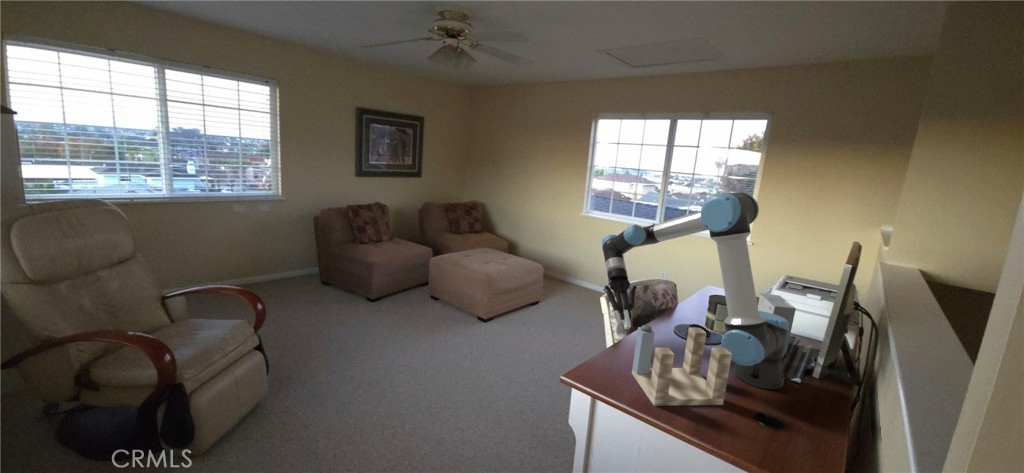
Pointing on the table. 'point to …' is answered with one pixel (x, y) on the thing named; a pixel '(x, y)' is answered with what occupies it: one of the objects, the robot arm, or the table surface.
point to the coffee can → (716, 314)
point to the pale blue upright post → (643, 349)
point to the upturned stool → (687, 375)
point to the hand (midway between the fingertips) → (627, 327)
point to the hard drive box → (777, 310)
